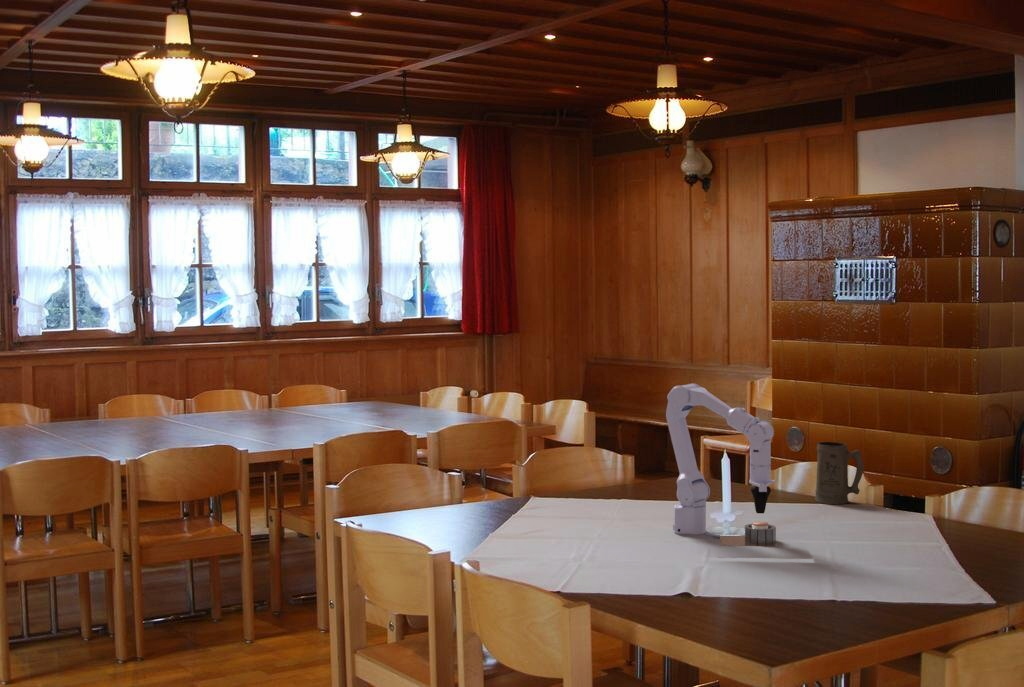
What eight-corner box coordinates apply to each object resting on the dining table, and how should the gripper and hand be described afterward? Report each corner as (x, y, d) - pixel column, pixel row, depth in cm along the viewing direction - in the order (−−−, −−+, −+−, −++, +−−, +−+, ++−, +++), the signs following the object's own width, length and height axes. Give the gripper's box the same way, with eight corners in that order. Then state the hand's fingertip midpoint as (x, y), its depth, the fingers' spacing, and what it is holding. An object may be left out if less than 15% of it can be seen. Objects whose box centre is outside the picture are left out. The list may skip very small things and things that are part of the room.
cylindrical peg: (752, 542, 325) (753, 524, 325) (751, 538, 329) (751, 521, 329) (768, 542, 325) (769, 524, 324) (767, 539, 329) (767, 521, 329)
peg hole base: (722, 549, 322) (722, 531, 321) (718, 538, 335) (718, 521, 334) (778, 549, 320) (778, 531, 320) (772, 539, 333) (772, 522, 333)
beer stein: (811, 503, 386) (816, 443, 384) (813, 497, 396) (817, 439, 394) (860, 508, 381) (864, 448, 380) (860, 502, 391) (864, 444, 390)
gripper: (778, 469, 318) (777, 518, 319) (771, 461, 333) (771, 508, 333) (751, 469, 319) (751, 518, 320) (746, 460, 333) (746, 507, 334)
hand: (760, 512), depth 327 cm, fingers closed
